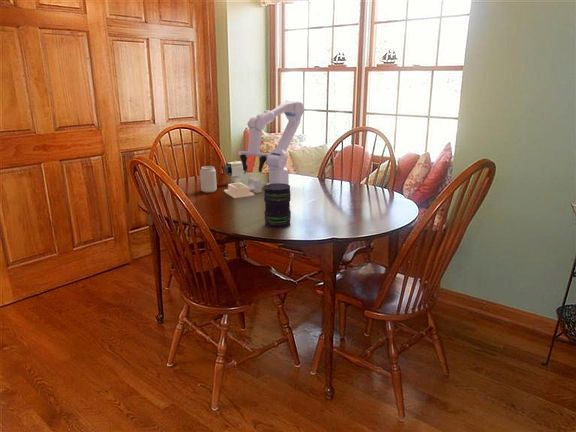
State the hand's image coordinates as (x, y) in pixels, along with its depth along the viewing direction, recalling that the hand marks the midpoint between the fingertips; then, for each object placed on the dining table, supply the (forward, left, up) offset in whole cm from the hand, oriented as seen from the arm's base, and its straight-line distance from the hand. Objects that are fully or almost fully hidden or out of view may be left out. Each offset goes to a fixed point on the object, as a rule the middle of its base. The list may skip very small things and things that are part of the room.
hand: (252, 171), depth 228 cm
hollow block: (+8, +2, -10) cm, 13 cm away
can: (+19, -10, -10) cm, 24 cm away
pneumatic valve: (+1, -20, -10) cm, 22 cm away
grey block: (-1, 0, -10) cm, 10 cm away
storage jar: (+12, +54, -10) cm, 56 cm away
